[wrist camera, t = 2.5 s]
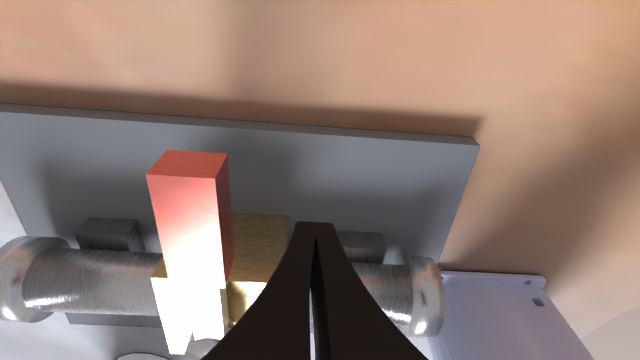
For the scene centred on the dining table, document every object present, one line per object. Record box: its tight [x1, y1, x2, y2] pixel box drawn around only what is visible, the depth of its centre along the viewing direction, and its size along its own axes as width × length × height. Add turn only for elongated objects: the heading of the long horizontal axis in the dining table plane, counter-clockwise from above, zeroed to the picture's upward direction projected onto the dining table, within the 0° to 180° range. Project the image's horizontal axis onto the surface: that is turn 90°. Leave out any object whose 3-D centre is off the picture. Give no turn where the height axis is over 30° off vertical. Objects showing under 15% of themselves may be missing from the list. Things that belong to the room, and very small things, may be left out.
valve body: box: [0, 212, 445, 354], centre depth 20 cm, size 25×6×6 cm, turn 85°
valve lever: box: [146, 150, 235, 360], centre depth 15 cm, size 12×3×2 cm, turn 175°
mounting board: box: [0, 103, 480, 333], centre depth 23 cm, size 28×18×1 cm, turn 85°
